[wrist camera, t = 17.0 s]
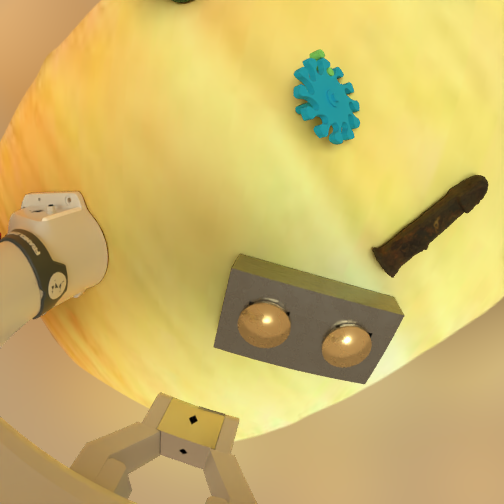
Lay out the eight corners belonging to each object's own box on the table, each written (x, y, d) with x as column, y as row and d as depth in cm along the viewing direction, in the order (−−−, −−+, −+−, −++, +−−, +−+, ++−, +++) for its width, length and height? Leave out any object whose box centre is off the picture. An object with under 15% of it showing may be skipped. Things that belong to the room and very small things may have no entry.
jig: (222, 327, 43) (211, 350, 37) (239, 253, 39) (230, 270, 33) (360, 362, 41) (365, 387, 36) (394, 297, 37) (406, 318, 32)
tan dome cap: (313, 341, 40) (314, 361, 36) (330, 303, 38) (333, 322, 33) (354, 350, 39) (358, 371, 35) (373, 315, 37) (380, 333, 33)
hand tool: (383, 270, 37) (393, 285, 32) (368, 247, 36) (377, 260, 32) (483, 192, 31) (501, 198, 26) (471, 167, 30) (490, 170, 26)
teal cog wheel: (369, 146, 30) (310, 137, 25) (331, 152, 35) (269, 148, 29) (354, 61, 28) (294, 35, 23) (319, 74, 33) (258, 57, 28)
